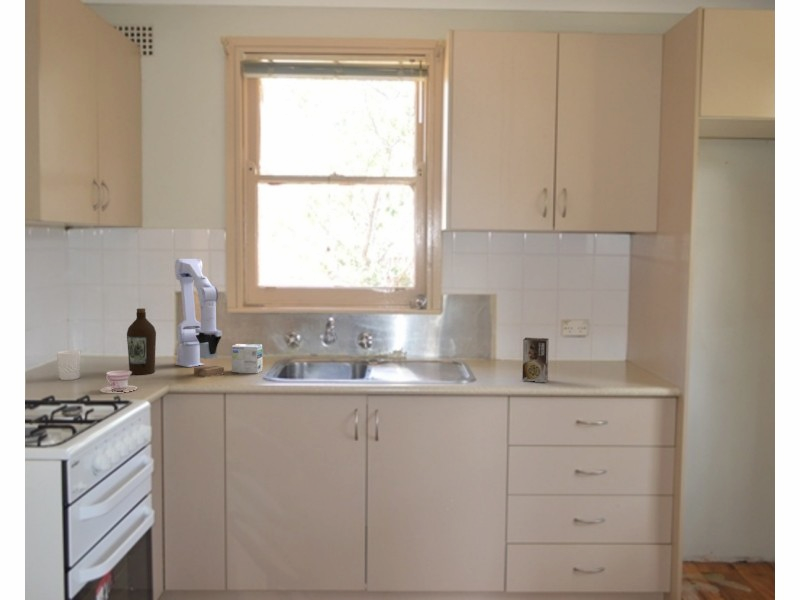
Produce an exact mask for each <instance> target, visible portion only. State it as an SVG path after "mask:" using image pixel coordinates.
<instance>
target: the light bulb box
mask: <svg viewBox="0 0 800 600" xmlns="http://www.w3.org/2000/svg"><path fill="white" fill-rule="evenodd" d="M262 371H263V344H259V343H258V344H254V343H253V344H250V343H244V344H243V343H236V344H234V345H232V346H231V373H232V372H239V373H238V374H259V373H261V372H262Z"/></svg>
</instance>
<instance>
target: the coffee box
mask: <svg viewBox="0 0 800 600" xmlns="http://www.w3.org/2000/svg"><path fill="white" fill-rule="evenodd" d="M522 380H524V381H523V382H527V381H535V382H534V383H542V382H545V384H546V383H547V382H548V381H549V338H546V337H545V338H544V337H524V338H523V339H522V379H521V381H522Z"/></svg>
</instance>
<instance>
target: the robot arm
mask: <svg viewBox="0 0 800 600" xmlns="http://www.w3.org/2000/svg"><path fill="white" fill-rule="evenodd" d="M174 263H175V264H174V273H175V274H174V275H175V279H176V280H178V281H179V284H180V293H181V304H182V313H183V314H182V316H183V321H181V322H180V323H179V324H178V325H177V327H176V329H177V331H176V339H177V342H178V343H179V345H178V346H177V349H176V355H177V357H176V363H175V365H176V366H181V367H186V368H191V367H192V368H194V367H200V366H205V363H202V362H201V358H200V343H206V342H208V344H209V352H210V354H215V353H216V349H218V344H219V343H220V340H221V339H222V337H223V330H219V329H217V309H216V308H217V303H216V302H218V300H219V290H218V287H217V286H214V285H212V283H211V282H210V280H209V278H208V277H207V276H205V275H204V274H203V261H202V259H201V258H200V257H197V258H179V257H178V258H176V260H175V262H174ZM194 287H195V289H196V291H197V298H198V303H199V304H198V305H199V307H200V321H198V320H197V318H196V308H195V296H194V295H195V294H194ZM199 365H200V366H199Z"/></svg>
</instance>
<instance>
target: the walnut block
mask: <svg viewBox="0 0 800 600" xmlns="http://www.w3.org/2000/svg"><path fill="white" fill-rule="evenodd" d="M224 368H225V367H223V366H219V365H214V364H209V365H200V366H193V375H195V374H198V375H197V376H200V375H203V376H202V377H205V376H209V377H212V376H211V375H215V376H218V375H217V374H221V375H223V374H222V373H224V374H225V369H224Z"/></svg>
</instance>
